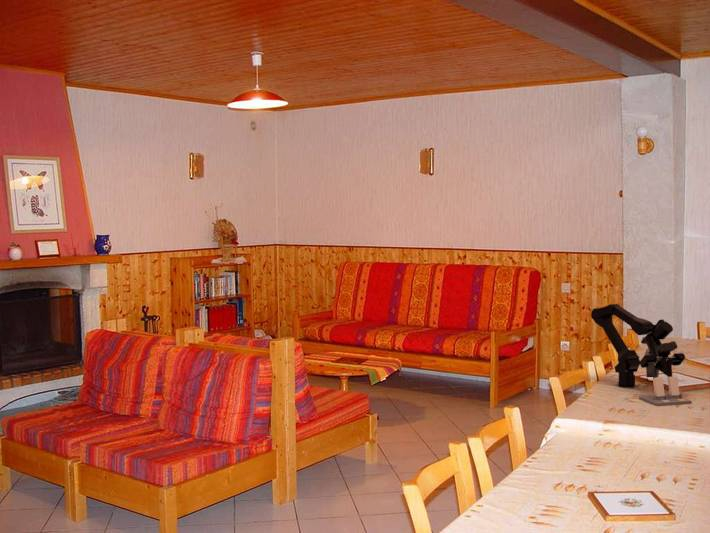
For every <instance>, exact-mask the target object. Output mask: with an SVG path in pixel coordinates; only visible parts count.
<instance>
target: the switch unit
mask: <svg viewBox="0 0 710 533" xmlns="http://www.w3.org/2000/svg"><path fill="white" fill-rule="evenodd" d="M664 394H665V398H656V395H655V393H654V394H652V395H646V396H639V398H638V399H639V400H640V401H642V402H645V403H648V404H650V405H653V406H656V407H662V406H663V407H664V406H676V405H677V406H678V405H690V404H692V405H693V401H692V400H689V399H687V398H683V393H682V392H679V394H680V397H671V394H670V393H664Z"/></svg>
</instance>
